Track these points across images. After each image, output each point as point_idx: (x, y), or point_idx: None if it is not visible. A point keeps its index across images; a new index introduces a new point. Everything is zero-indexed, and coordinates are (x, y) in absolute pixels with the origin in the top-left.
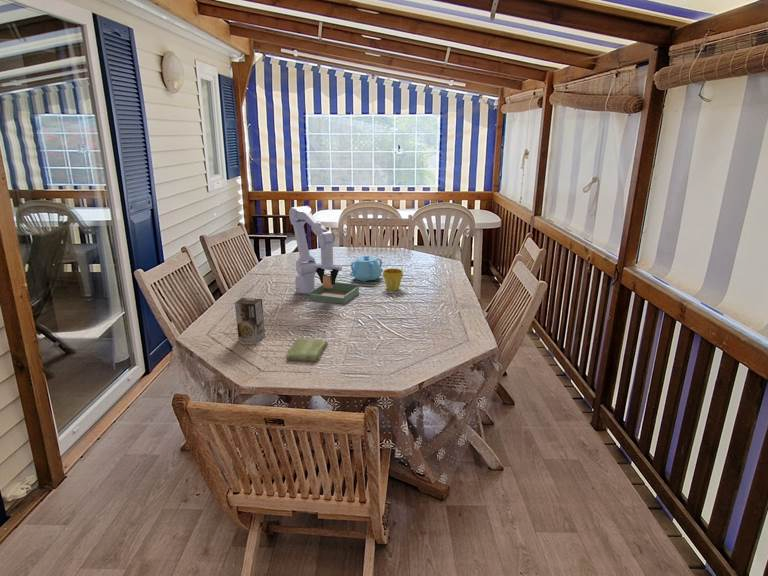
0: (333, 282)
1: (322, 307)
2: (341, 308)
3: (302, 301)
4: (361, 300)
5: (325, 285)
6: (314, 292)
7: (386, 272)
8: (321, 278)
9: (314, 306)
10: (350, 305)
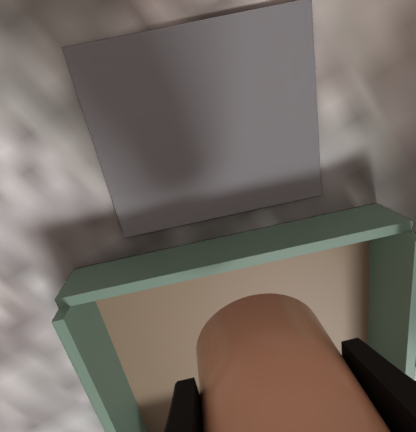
0: (170, 418)
1: (164, 96)
2: (15, 178)
3: (413, 140)
4: (40, 381)
5: (267, 320)
6: (394, 282)
7: None
8: (403, 409)
9: (245, 76)
10: (16, 271)
